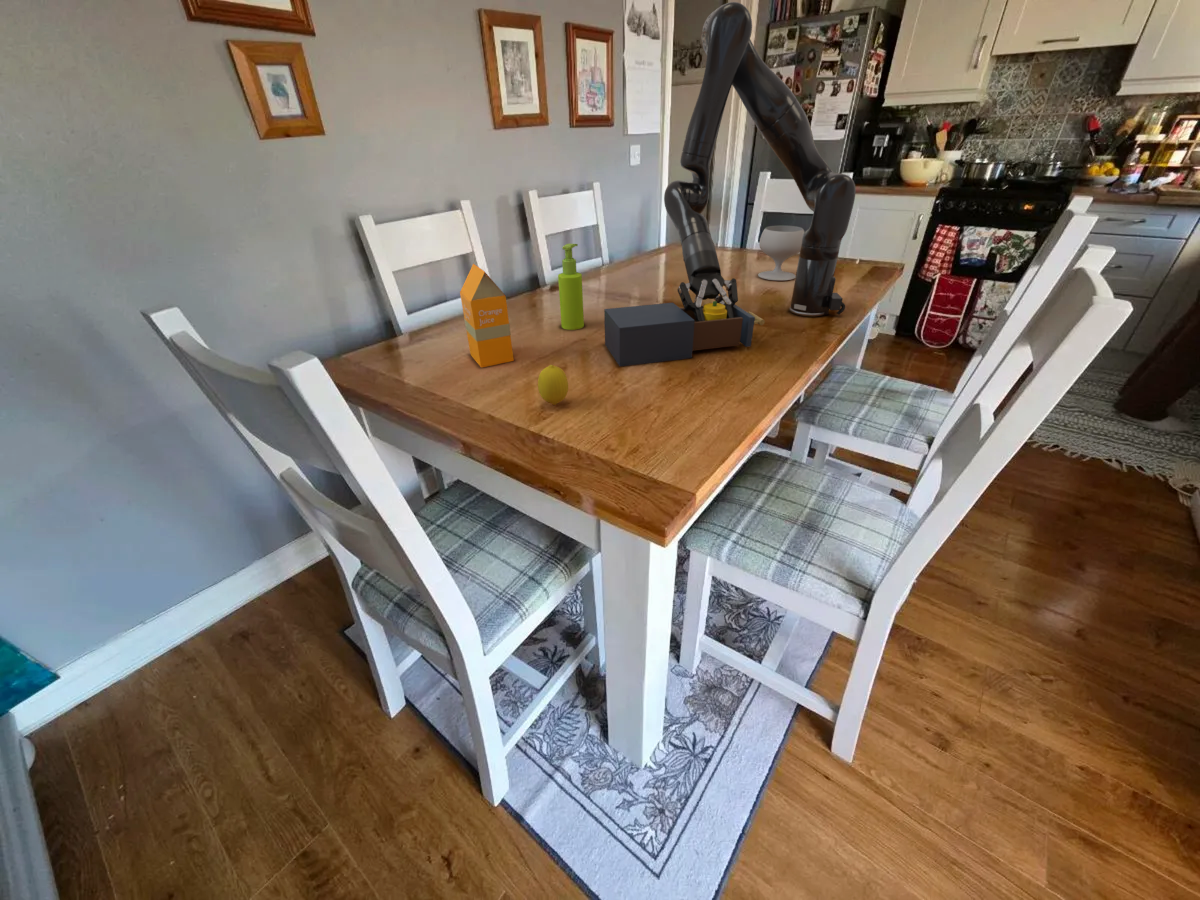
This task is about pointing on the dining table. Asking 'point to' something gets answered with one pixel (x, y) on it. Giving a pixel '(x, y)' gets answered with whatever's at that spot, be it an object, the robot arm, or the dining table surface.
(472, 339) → the orange juice
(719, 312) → the yellow cylinder
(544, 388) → the lemon
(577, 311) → the soap dispenser
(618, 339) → the cabinet
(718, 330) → the drawer
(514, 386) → the dining table surface
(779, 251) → the chalice
